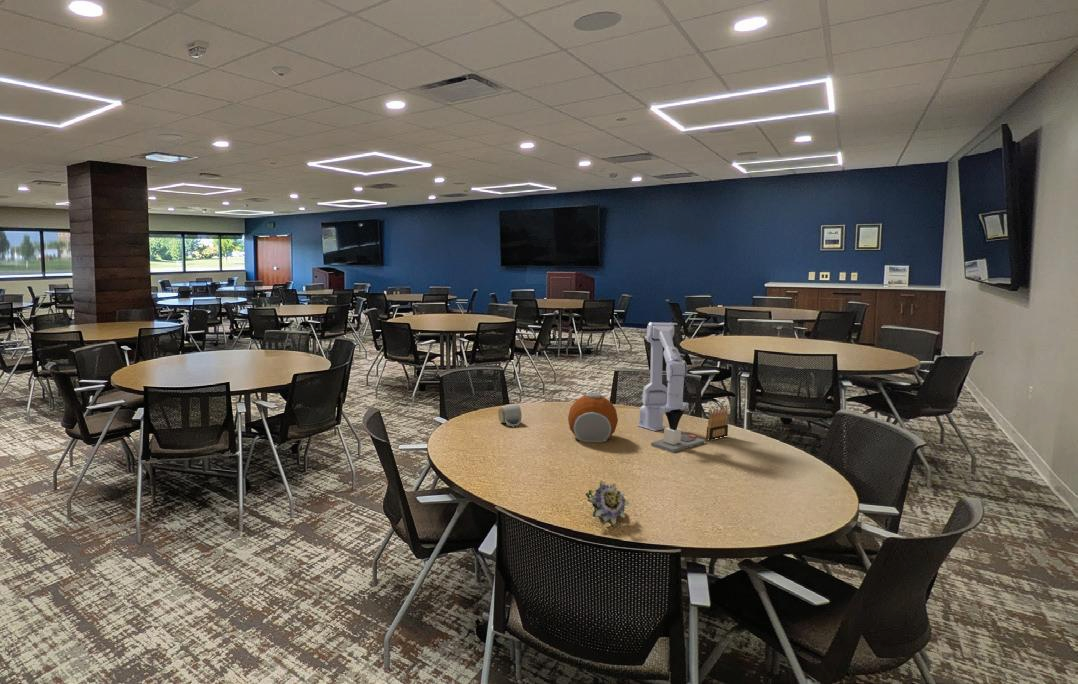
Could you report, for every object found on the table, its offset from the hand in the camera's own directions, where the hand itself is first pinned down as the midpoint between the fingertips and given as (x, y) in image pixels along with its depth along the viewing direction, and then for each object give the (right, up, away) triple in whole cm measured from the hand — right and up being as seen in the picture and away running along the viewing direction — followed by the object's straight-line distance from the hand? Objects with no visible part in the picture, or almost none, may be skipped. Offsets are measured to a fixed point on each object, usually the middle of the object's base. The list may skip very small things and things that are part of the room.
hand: (673, 429), depth 213 cm
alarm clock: (-29, -5, +9) cm, 31 cm away
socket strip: (+3, -6, +3) cm, 8 cm away
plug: (0, -6, +1) cm, 7 cm away
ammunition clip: (+20, -6, +12) cm, 24 cm away
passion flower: (-32, -14, -62) cm, 71 cm away
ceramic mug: (-61, -2, +26) cm, 66 cm away
